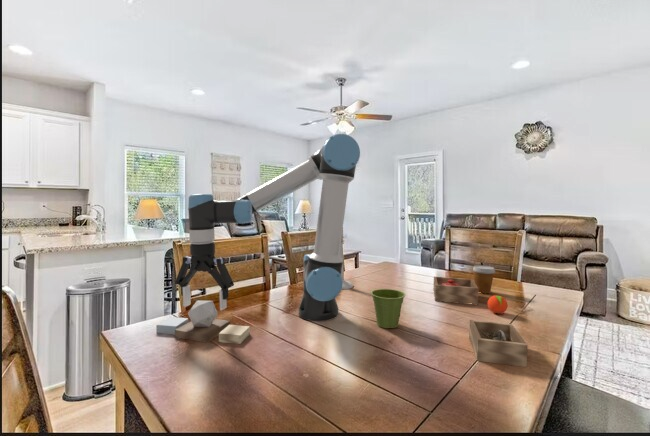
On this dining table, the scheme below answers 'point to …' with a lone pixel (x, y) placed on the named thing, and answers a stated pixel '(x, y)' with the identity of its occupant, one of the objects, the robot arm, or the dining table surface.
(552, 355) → the dining table surface
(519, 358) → the tray
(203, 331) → the walnut block
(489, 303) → the clementine
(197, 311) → the die
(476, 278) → the disposable coffee cup
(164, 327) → the grey block
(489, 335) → the eagle figurine
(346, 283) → the candlestick
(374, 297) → the plant pot
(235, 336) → the oak block
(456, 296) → the wooden box
